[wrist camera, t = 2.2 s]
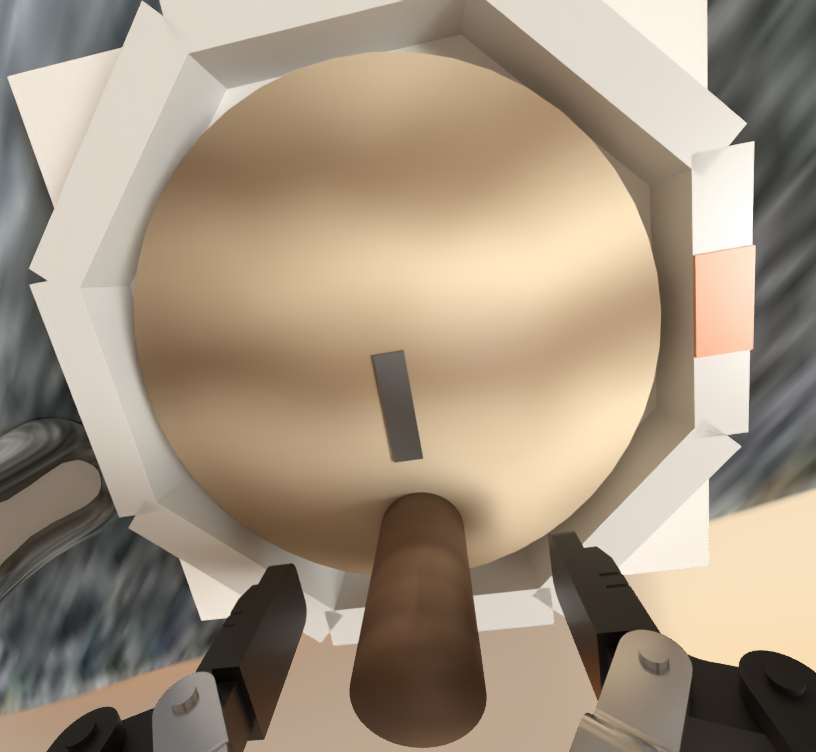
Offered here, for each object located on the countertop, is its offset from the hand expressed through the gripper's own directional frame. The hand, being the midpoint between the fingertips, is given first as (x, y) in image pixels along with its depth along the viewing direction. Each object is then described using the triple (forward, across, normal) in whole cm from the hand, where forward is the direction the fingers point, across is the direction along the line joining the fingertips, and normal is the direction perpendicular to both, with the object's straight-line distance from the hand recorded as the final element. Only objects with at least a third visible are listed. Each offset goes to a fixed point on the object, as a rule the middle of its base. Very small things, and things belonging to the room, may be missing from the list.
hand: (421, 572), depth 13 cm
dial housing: (+6, 0, -6) cm, 9 cm away
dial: (+4, 0, -7) cm, 7 cm away
